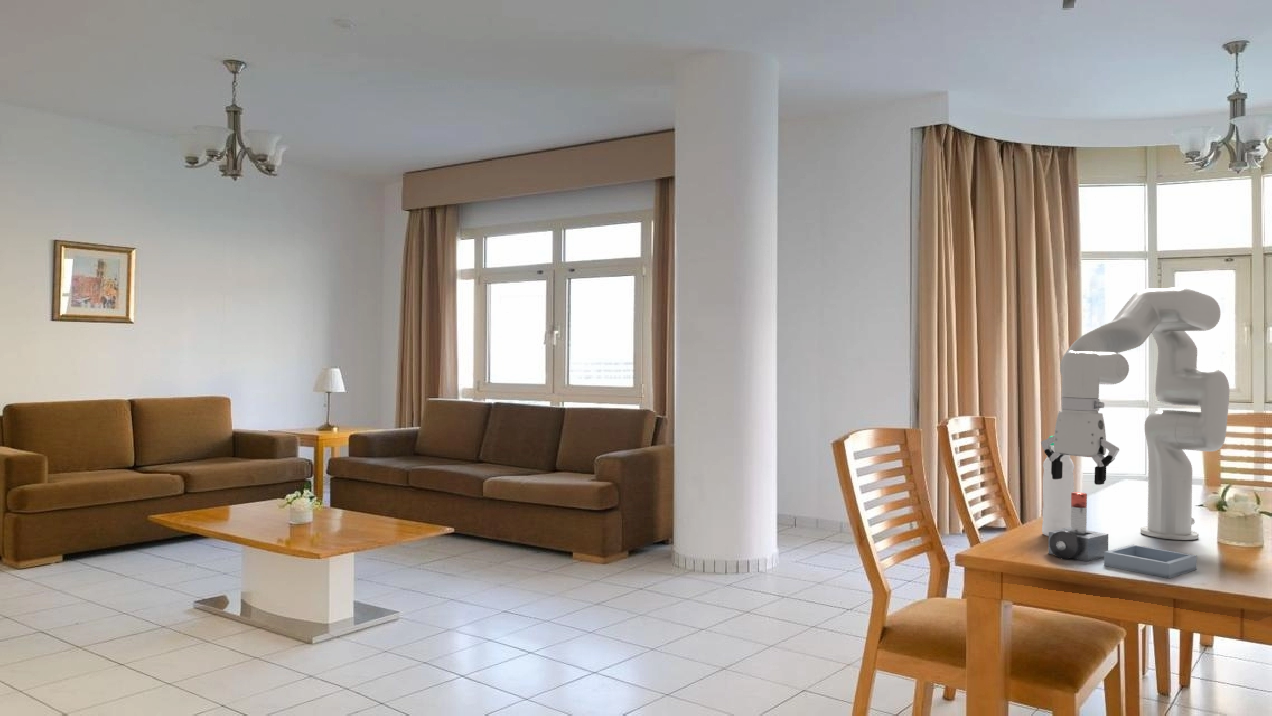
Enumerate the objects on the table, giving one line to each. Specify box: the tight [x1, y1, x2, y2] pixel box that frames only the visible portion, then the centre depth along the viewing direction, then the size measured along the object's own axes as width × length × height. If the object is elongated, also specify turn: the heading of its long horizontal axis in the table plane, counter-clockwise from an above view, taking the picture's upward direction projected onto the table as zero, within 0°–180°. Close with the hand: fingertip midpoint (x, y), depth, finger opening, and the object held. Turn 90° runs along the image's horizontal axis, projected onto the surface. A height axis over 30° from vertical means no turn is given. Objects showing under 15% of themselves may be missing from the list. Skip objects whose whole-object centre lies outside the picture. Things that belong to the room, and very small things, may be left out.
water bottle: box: [1041, 435, 1075, 537], centre depth 224 cm, size 7×7×25 cm
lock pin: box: [1071, 491, 1088, 536], centre depth 203 cm, size 3×3×14 cm
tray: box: [1103, 544, 1198, 579], centre depth 191 cm, size 13×13×3 cm
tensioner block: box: [1048, 527, 1109, 562], centre depth 202 cm, size 12×9×6 cm
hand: (1077, 481), depth 202 cm, fingers open, 9 cm apart
